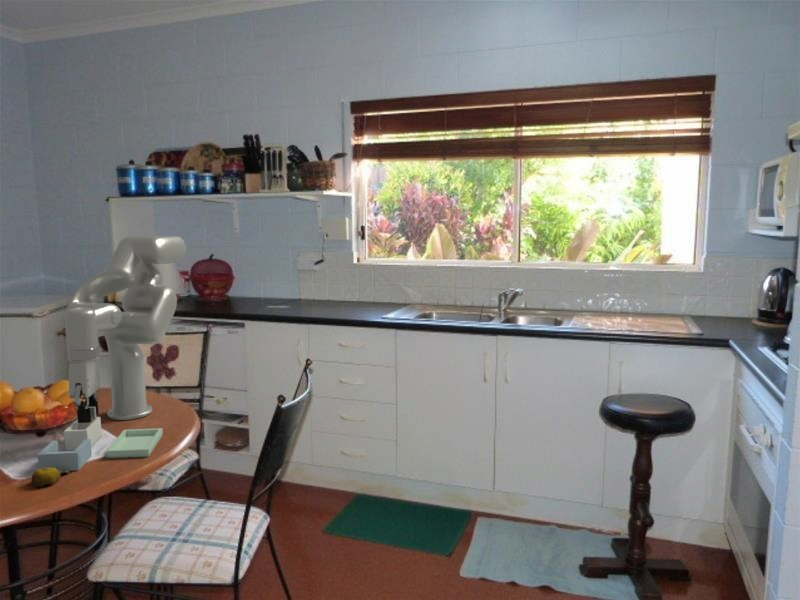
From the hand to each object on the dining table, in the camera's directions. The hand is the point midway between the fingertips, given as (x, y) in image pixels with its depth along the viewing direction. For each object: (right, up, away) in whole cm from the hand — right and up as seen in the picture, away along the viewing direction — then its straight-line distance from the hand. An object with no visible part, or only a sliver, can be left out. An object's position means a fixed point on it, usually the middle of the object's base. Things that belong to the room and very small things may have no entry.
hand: (88, 418), depth 166 cm
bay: (+2, -8, -15) cm, 17 cm away
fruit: (+3, -10, -23) cm, 25 cm away
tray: (+15, -7, -4) cm, 17 cm away
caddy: (+1, -7, -3) cm, 7 cm away
